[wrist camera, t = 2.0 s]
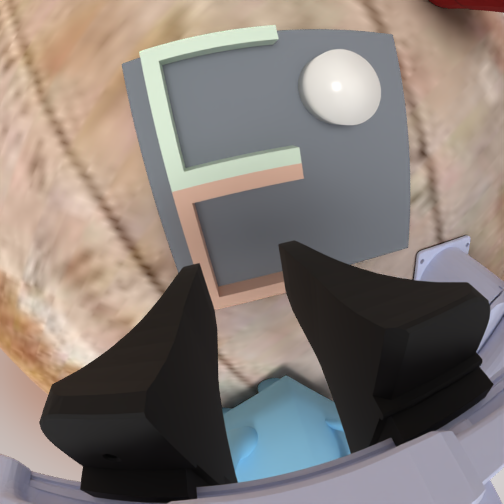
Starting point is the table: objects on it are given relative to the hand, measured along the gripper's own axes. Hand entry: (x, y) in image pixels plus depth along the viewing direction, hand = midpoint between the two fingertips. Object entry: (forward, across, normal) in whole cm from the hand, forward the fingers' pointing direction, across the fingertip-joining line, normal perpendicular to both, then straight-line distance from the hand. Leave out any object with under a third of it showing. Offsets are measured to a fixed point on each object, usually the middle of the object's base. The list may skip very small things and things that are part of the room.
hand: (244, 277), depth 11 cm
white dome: (+9, -8, -6) cm, 14 cm away
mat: (+10, -5, -2) cm, 11 cm away
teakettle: (+10, +2, +26) cm, 28 cm away
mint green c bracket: (+10, -1, -6) cm, 12 cm away
